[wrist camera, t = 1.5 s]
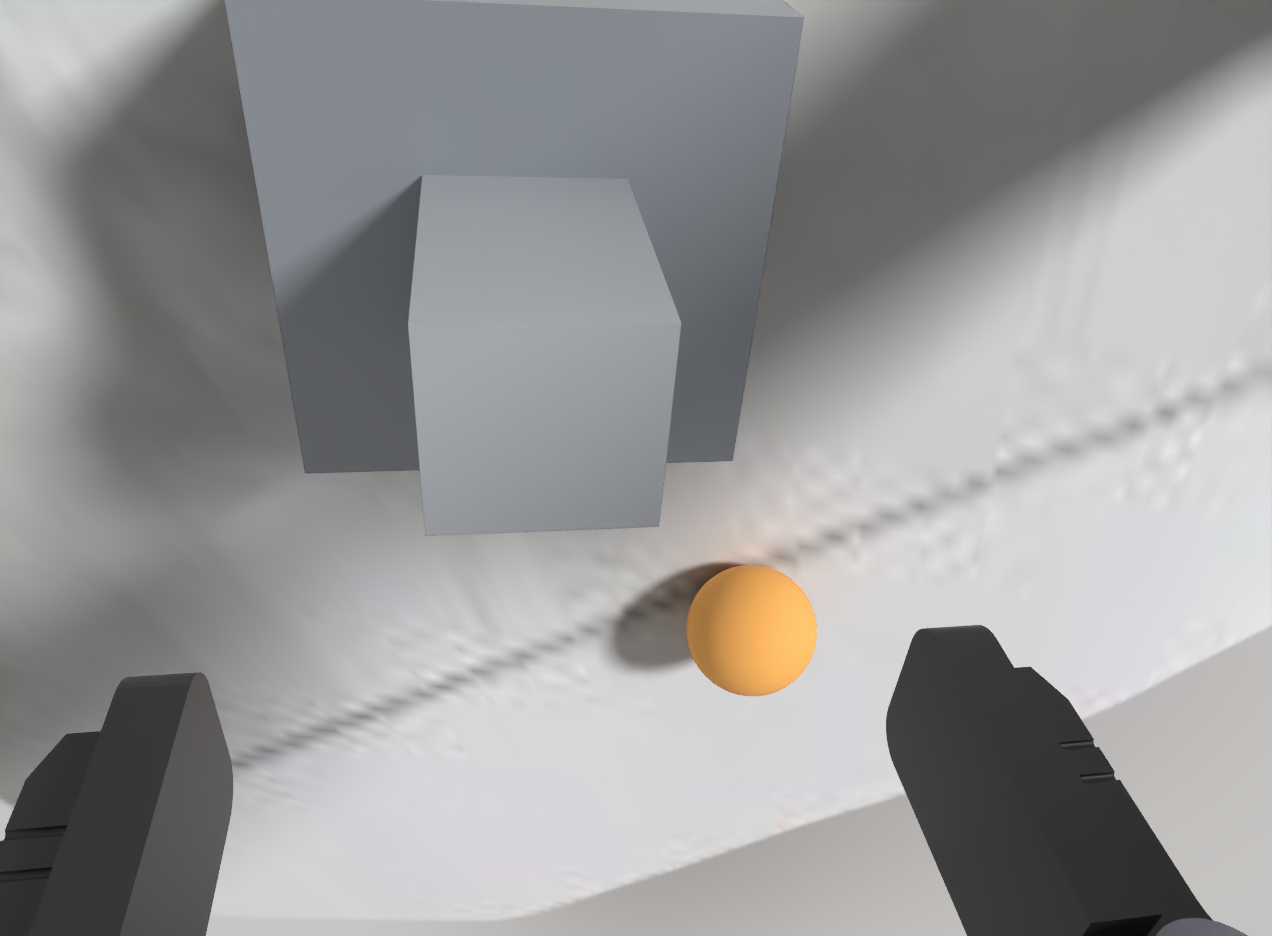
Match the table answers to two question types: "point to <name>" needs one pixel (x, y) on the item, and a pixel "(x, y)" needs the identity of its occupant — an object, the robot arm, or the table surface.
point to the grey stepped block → (517, 238)
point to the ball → (751, 630)
